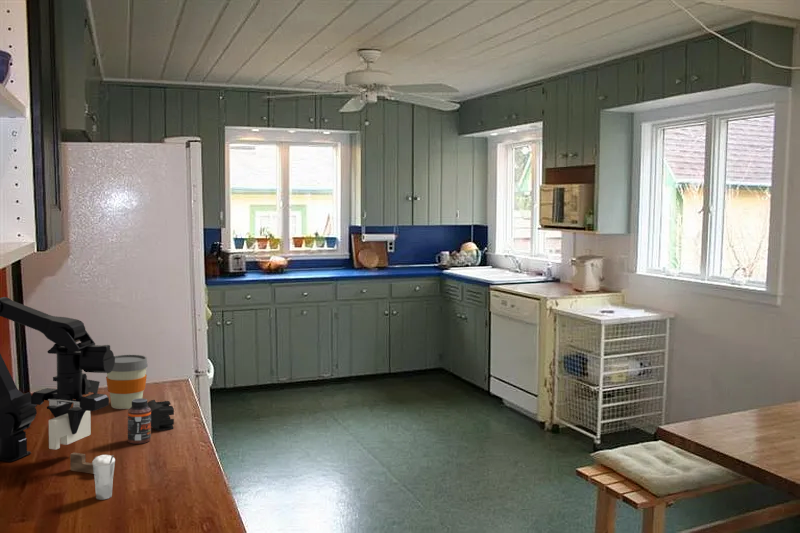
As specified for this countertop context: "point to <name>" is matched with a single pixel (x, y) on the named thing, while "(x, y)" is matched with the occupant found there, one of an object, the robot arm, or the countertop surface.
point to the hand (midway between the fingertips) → (70, 433)
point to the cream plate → (67, 430)
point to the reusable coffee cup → (127, 380)
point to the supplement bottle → (139, 422)
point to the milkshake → (103, 476)
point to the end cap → (161, 415)
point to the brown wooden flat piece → (80, 463)
